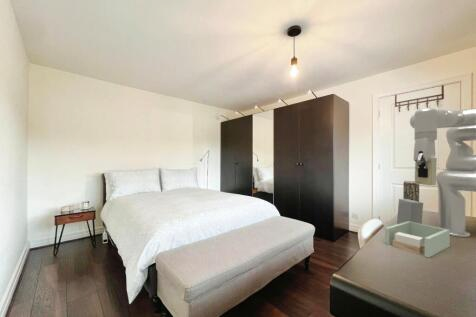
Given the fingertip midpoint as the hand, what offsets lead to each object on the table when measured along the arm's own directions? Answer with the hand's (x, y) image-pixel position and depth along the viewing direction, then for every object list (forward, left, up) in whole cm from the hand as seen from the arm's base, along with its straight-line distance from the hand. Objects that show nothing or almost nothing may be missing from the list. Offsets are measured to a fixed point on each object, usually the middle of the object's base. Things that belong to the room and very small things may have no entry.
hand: (425, 176), depth 93 cm
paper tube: (-23, -14, -29) cm, 40 cm away
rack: (+8, 0, -29) cm, 30 cm away
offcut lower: (+16, 0, -30) cm, 34 cm away
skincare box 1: (-13, -11, -29) cm, 34 cm away
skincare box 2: (0, 0, -4) cm, 4 cm away
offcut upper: (+16, 0, -27) cm, 31 cm away
